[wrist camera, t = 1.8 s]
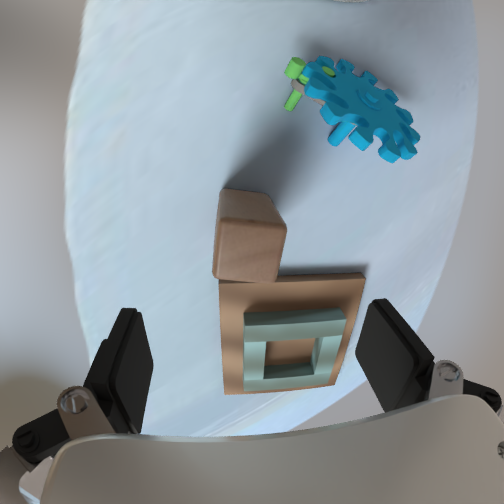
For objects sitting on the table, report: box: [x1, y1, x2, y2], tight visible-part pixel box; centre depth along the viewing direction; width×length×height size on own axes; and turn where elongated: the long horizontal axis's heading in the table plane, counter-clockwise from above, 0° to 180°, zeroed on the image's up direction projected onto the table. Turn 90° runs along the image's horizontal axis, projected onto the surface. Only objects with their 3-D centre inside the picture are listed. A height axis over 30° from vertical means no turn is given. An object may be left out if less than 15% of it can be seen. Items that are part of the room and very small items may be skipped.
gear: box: [284, 56, 420, 163], centre depth 19 cm, size 11×6×10 cm
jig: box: [219, 273, 366, 395], centre depth 29 cm, size 16×14×3 cm
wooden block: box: [212, 188, 287, 284], centre depth 20 cm, size 4×4×8 cm
